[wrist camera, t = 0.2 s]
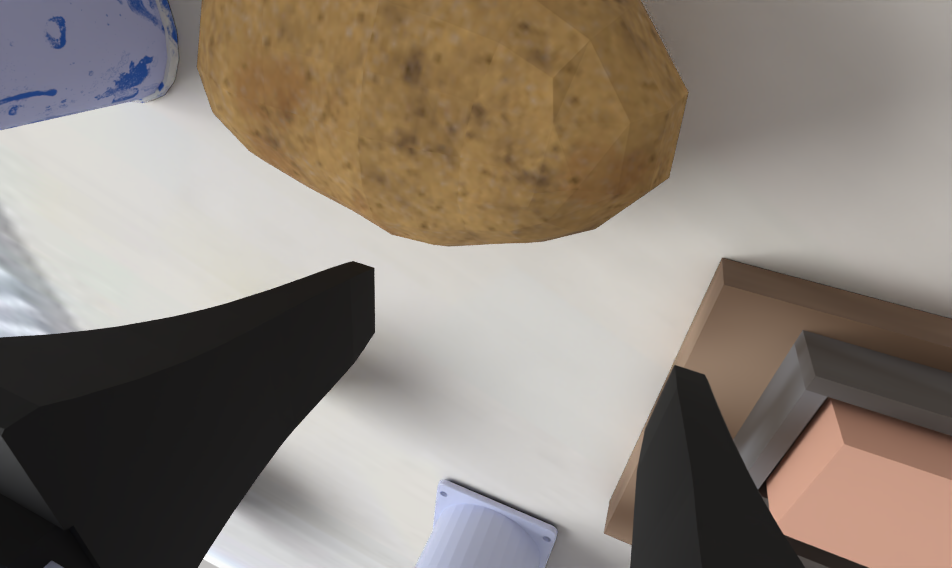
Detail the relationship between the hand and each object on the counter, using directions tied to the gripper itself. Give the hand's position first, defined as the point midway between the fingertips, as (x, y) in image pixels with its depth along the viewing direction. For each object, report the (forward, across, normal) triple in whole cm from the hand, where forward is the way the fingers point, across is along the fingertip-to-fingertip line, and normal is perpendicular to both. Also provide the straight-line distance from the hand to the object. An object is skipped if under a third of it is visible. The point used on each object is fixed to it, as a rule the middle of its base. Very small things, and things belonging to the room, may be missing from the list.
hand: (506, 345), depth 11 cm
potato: (+10, +4, -4) cm, 12 cm away
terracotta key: (+6, -11, +5) cm, 14 cm away
